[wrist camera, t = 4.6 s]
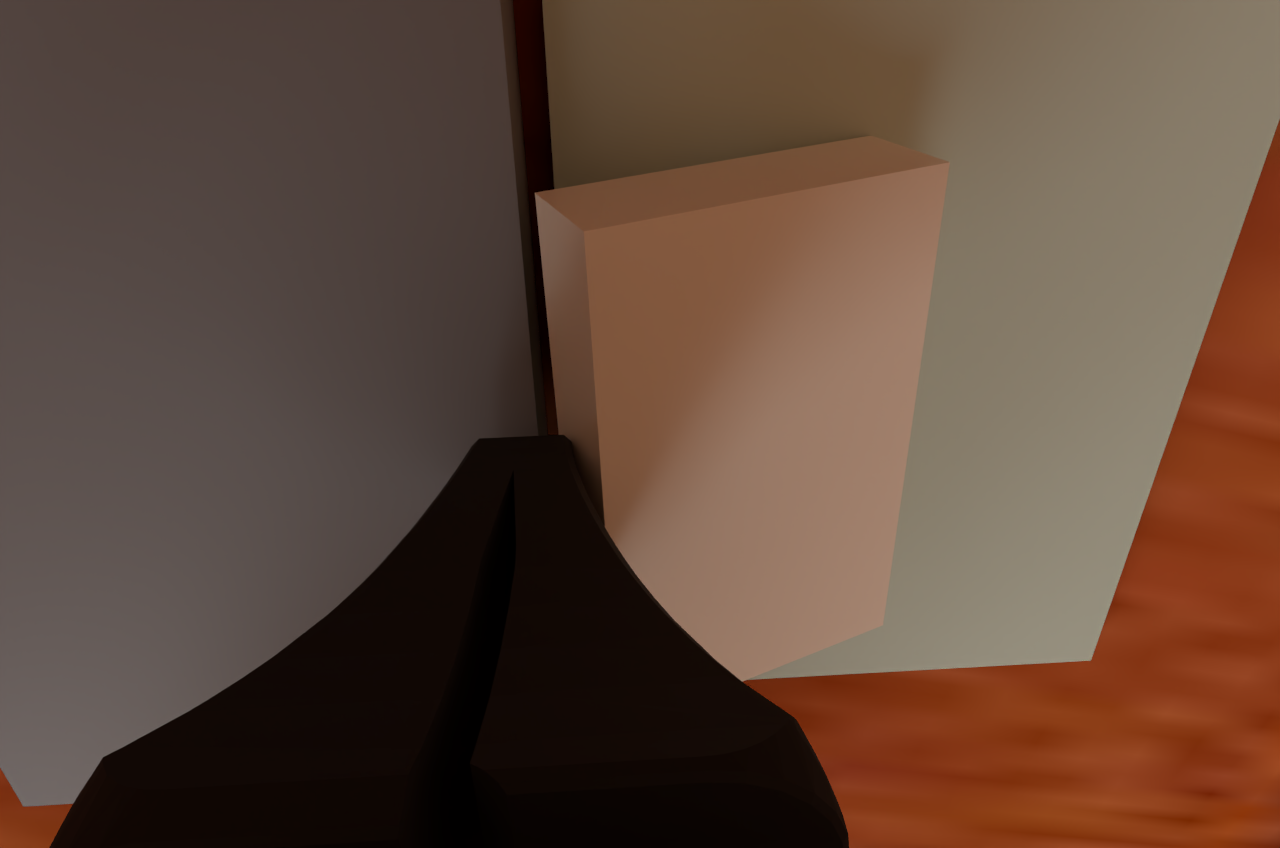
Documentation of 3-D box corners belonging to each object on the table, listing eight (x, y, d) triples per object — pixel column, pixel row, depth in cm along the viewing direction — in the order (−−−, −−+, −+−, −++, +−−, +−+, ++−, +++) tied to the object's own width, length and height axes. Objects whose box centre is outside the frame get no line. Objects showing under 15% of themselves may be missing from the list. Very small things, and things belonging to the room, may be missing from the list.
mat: (1082, 646, 19) (1090, 660, 19) (586, 673, 18) (586, 688, 18) (1316, -53, 12) (1338, -50, 12) (540, -37, 12) (539, -35, 11)
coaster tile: (828, 570, 17) (883, 625, 16) (581, 661, 15) (619, 730, 14) (870, 135, 13) (949, 162, 11) (534, 192, 11) (583, 231, 10)
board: (568, 691, 19) (567, 774, 17) (75, 719, 18) (23, 806, 17) (506, -80, 11) (494, -73, 10) (-321, -65, 11) (-488, -53, 9)
